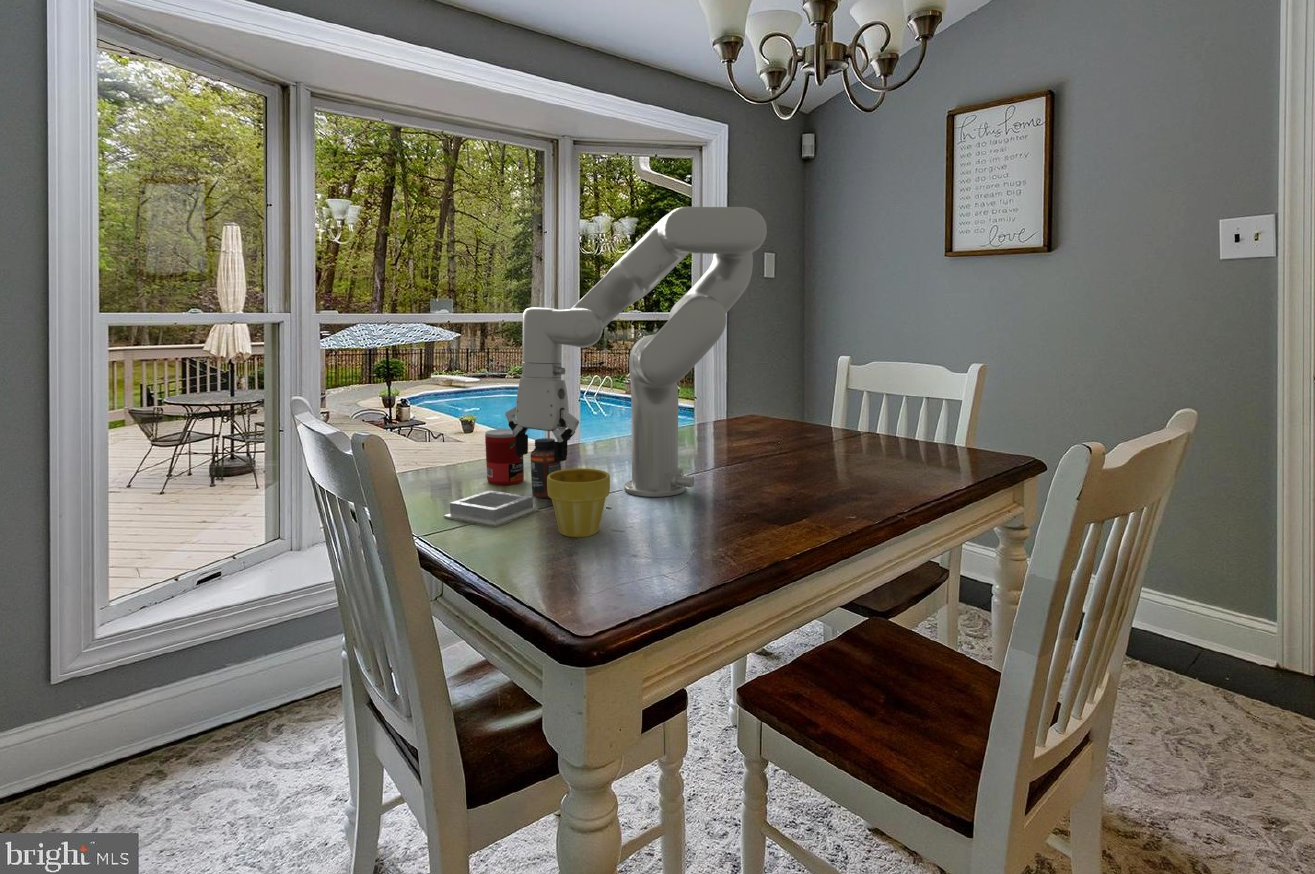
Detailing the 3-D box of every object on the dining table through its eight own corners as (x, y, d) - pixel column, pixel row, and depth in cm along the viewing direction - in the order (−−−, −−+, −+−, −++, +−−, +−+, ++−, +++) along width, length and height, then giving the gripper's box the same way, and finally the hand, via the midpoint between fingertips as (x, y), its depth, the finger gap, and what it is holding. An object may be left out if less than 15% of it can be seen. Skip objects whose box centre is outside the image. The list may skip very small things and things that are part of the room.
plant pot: (611, 540, 119) (610, 481, 117) (546, 541, 118) (544, 482, 116) (610, 522, 129) (609, 467, 127) (550, 523, 128) (549, 468, 126)
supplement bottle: (566, 492, 149) (565, 437, 147) (553, 499, 144) (551, 443, 142) (540, 490, 151) (539, 436, 149) (526, 497, 146) (524, 441, 144)
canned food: (516, 486, 154) (514, 435, 153) (480, 485, 156) (478, 433, 154) (529, 478, 162) (528, 429, 160) (495, 477, 163) (493, 428, 162)
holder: (539, 510, 136) (538, 496, 136) (495, 527, 126) (494, 511, 125) (489, 502, 142) (489, 488, 141) (444, 517, 131) (443, 503, 131)
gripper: (589, 374, 142) (587, 460, 145) (519, 367, 151) (519, 450, 153) (566, 376, 136) (564, 466, 139) (494, 369, 144) (494, 455, 147)
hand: (540, 457), depth 146 cm, fingers open, 9 cm apart
